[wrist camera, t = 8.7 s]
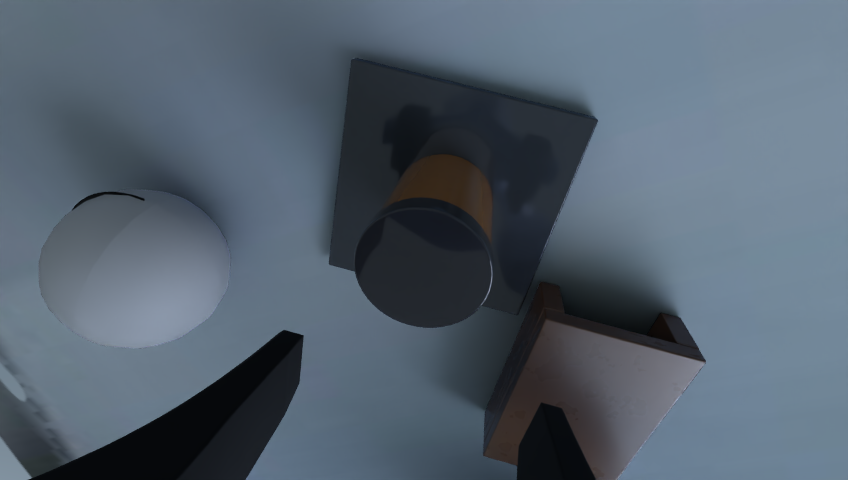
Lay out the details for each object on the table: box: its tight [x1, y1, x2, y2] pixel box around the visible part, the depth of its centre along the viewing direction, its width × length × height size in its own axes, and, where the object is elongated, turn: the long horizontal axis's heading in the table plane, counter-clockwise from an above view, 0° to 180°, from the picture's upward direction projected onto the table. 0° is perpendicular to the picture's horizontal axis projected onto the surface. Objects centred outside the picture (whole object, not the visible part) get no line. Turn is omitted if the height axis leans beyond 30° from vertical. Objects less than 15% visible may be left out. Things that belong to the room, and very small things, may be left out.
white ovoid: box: [39, 189, 231, 349], centre depth 20 cm, size 10×7×7 cm
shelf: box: [483, 282, 706, 480], centre depth 22 cm, size 10×7×3 cm
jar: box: [354, 154, 494, 328], centre depth 16 cm, size 5×5×6 cm
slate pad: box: [329, 58, 598, 315], centre depth 19 cm, size 10×10×1 cm
